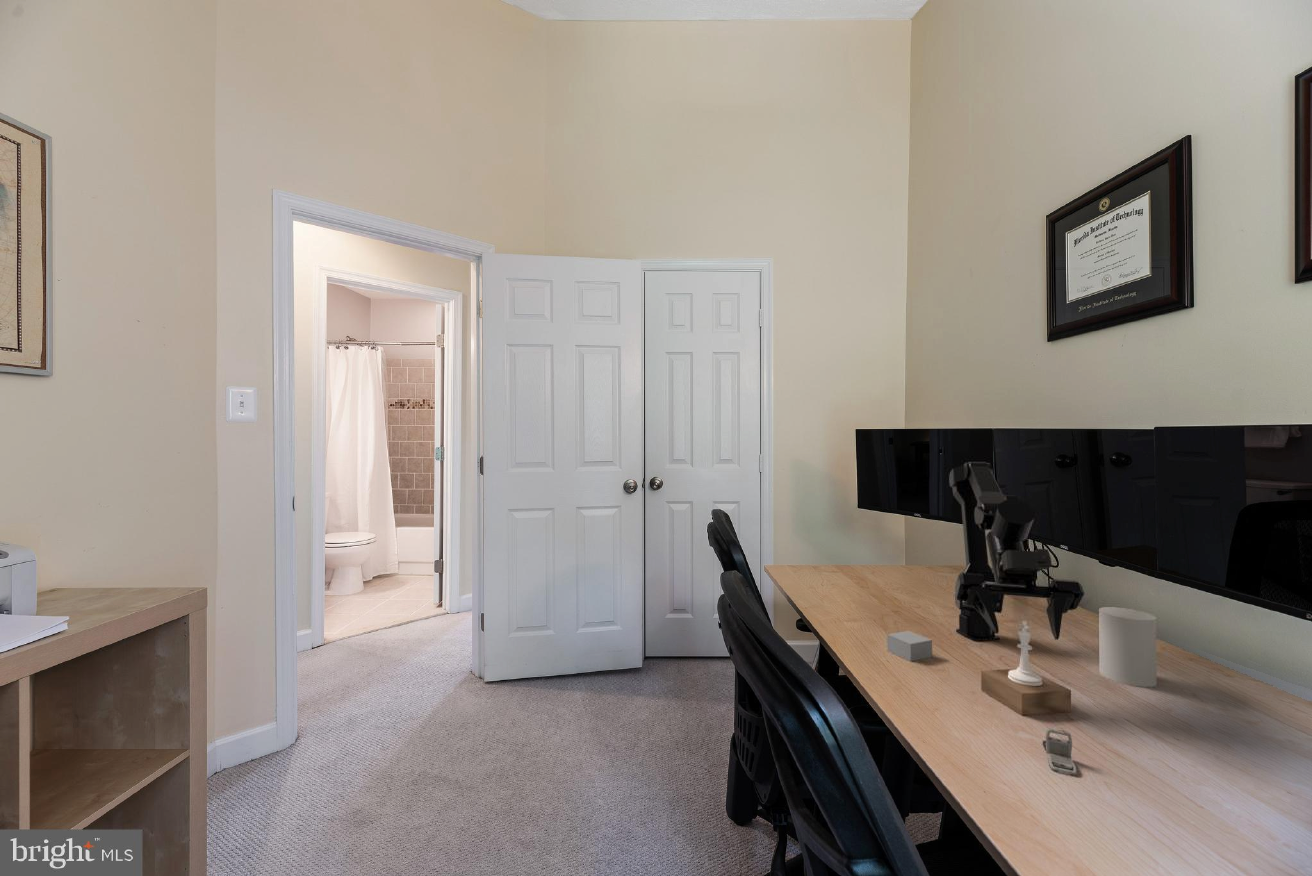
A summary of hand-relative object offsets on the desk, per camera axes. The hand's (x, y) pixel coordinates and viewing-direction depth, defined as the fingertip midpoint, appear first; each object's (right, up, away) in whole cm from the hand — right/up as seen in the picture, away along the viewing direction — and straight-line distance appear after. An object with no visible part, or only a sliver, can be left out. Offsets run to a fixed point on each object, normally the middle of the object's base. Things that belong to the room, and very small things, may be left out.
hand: (1026, 635), depth 92 cm
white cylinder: (+26, -12, +11) cm, 31 cm away
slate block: (-10, -12, +22) cm, 27 cm away
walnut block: (0, -12, +1) cm, 12 cm away
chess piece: (+1, -8, +1) cm, 8 cm away
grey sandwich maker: (-6, -12, -16) cm, 21 cm away
